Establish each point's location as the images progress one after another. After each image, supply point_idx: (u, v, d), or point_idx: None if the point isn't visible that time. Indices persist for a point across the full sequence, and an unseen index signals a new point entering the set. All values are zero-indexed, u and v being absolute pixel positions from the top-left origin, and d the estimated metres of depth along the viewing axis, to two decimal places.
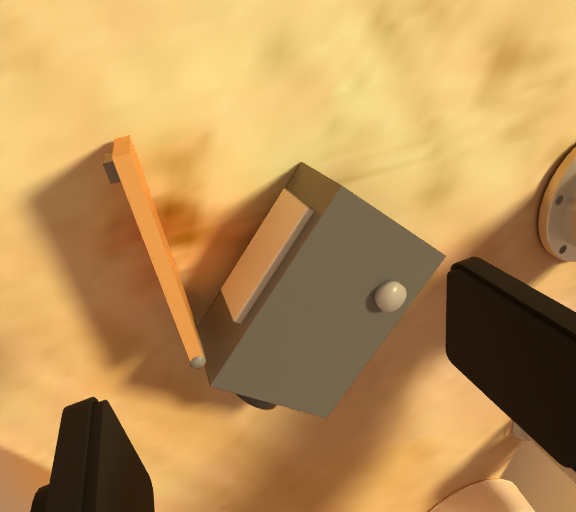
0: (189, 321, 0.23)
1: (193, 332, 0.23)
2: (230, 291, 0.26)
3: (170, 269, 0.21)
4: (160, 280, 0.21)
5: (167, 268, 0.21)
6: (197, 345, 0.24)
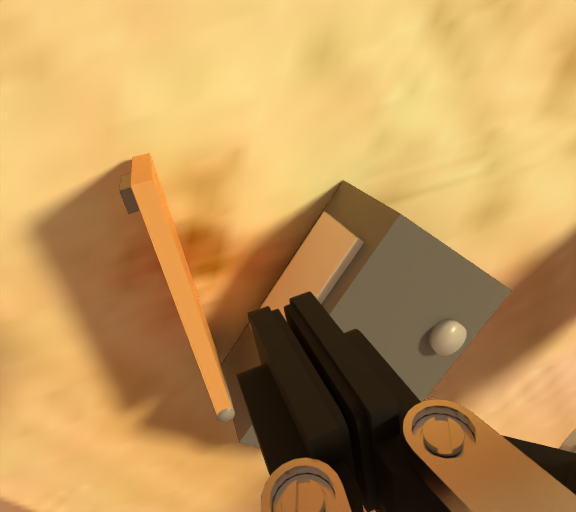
0: (217, 371, 0.19)
1: (221, 383, 0.20)
2: None
3: (197, 313, 0.18)
4: (185, 326, 0.18)
5: (194, 312, 0.18)
6: (225, 397, 0.20)
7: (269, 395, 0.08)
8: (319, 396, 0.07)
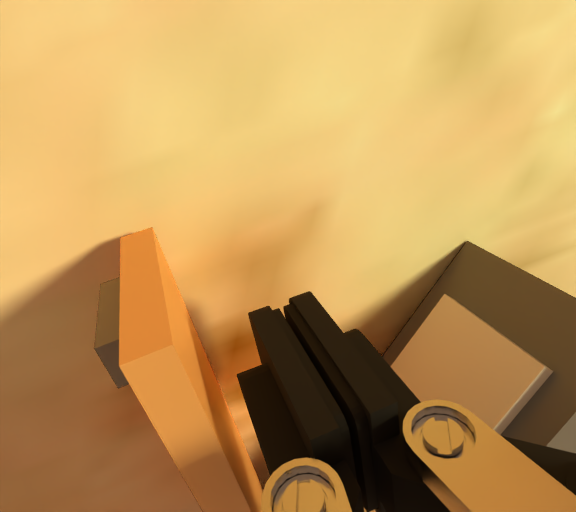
0: None
1: None
2: None
3: None
4: None
5: None
6: None
7: (269, 395, 0.08)
8: (320, 396, 0.07)
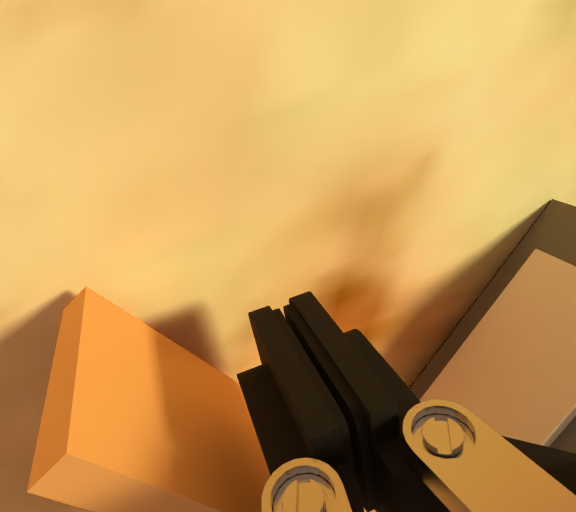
0: None
1: None
2: None
3: None
4: None
5: None
6: None
7: (269, 395, 0.08)
8: (320, 396, 0.07)
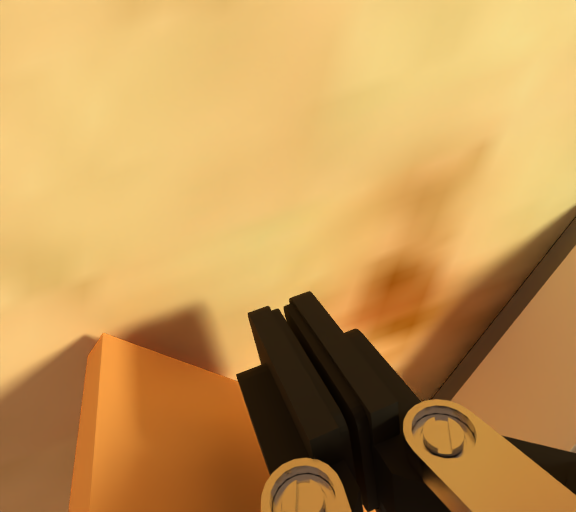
0: None
1: None
2: (487, 416, 0.15)
3: None
4: None
5: None
6: None
7: (269, 395, 0.08)
8: (319, 396, 0.07)
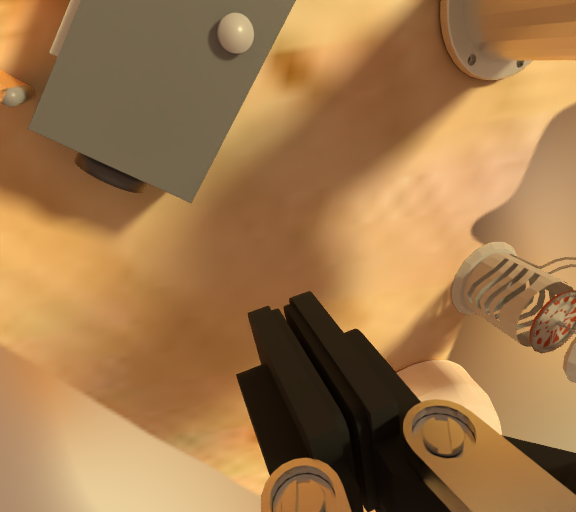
0: None
1: None
2: None
3: None
4: None
5: None
6: None
7: (269, 395, 0.08)
8: (319, 396, 0.07)
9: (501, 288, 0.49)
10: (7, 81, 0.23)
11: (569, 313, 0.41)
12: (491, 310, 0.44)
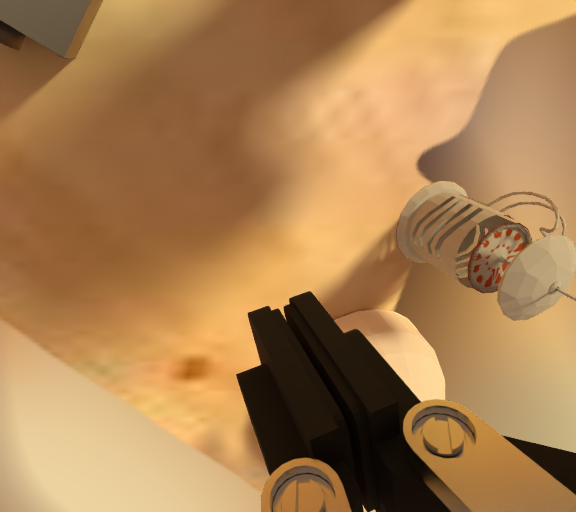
0: None
1: None
2: None
3: None
4: None
5: None
6: None
7: (269, 395, 0.08)
8: (319, 396, 0.07)
9: (451, 233, 0.46)
10: None
11: (513, 250, 0.38)
12: (433, 248, 0.41)
